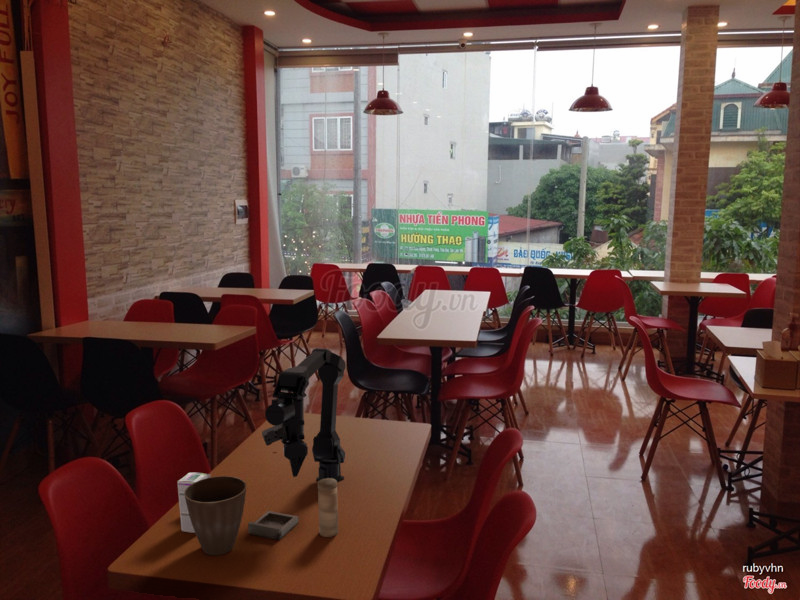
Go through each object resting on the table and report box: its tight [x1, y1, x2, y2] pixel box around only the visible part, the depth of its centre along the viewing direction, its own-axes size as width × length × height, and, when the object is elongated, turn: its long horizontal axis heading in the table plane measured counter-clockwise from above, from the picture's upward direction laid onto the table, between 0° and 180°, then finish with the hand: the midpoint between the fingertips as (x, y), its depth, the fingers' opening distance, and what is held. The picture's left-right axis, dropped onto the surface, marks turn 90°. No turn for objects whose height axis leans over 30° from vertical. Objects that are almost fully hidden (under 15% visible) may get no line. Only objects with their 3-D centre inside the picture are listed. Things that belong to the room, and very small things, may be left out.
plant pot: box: [184, 475, 247, 556], centre depth 158 cm, size 15×15×16 cm
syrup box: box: [177, 472, 208, 534], centre depth 168 cm, size 6×6×14 cm
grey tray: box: [247, 510, 299, 541], centre depth 168 cm, size 10×10×3 cm
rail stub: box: [317, 478, 339, 538], centre depth 165 cm, size 5×5×14 cm
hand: (293, 470), depth 175 cm, fingers open, 9 cm apart
